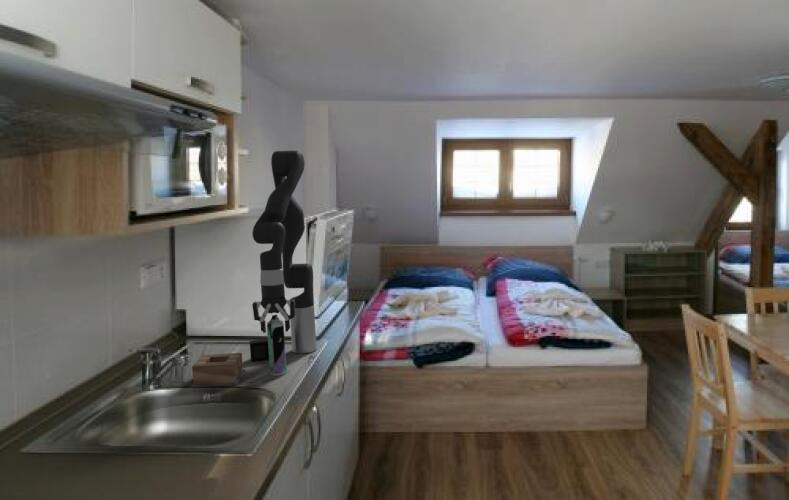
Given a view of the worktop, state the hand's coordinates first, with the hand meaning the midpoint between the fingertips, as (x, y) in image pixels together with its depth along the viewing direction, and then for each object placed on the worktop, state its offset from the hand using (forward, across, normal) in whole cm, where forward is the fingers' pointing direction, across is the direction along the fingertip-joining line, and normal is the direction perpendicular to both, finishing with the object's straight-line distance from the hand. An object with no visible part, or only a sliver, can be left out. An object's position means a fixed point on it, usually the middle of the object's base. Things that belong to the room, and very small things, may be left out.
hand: (275, 331), depth 203 cm
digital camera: (+15, +7, -18) cm, 24 cm away
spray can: (+15, 0, 0) cm, 15 cm away
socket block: (+14, +19, +3) cm, 24 cm away
